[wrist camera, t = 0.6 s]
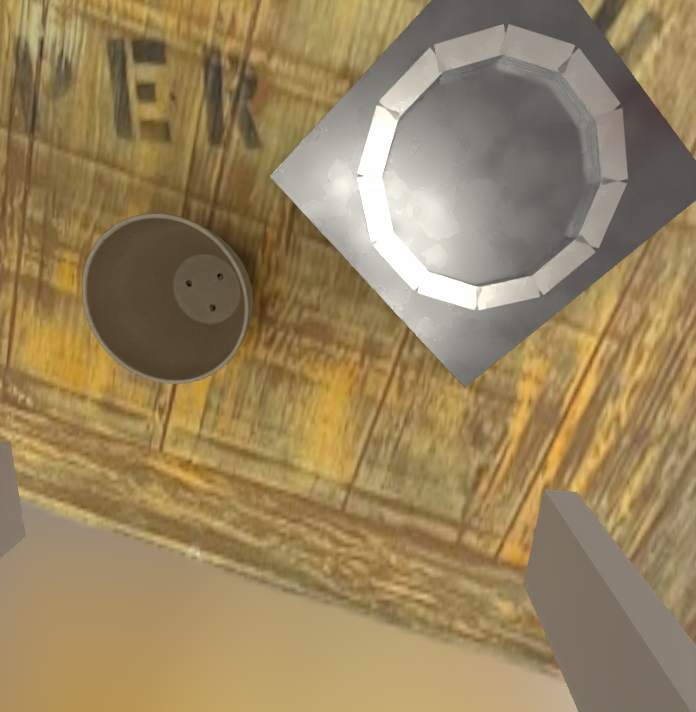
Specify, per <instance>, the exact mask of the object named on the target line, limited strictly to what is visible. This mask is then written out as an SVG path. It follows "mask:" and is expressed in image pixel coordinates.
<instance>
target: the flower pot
mask: <svg viewBox="0 0 696 712" xmlns="http://www.w3.org/2000/svg"><path fill="white" fill-rule="evenodd" d="M218 274H221V275H220V276H219V277H218ZM187 284H191V286H188V285H187ZM82 297H83V304H84V309H85V313H86V316H87V319H88V322H89V324H90V327H91V329H92V331H93V333H94V335H95V336H96V338H97V340H98V341H99V343H100V344H101V345H102V347H103V348H104V349H105V350H106V351H107V352H108V354H109V355H110V356H111V357H112V358H114V359H115V360H116V361H117V362H118V363H119V364H121V365H122V366H123V367H125V368H126V369H128V370H129V371H131V372H133V373H135V374H136V375H138V376H141V377H143V378H146V379H149V380H152V381H156V382H161V383H168V384H181V383H189V382H194V381H198V380H201V379H203V378H206V377H208V376H210V375H212V374H213V373H215V372H217V371H218V370H219V369H221V368H222V367H223V366H224V365H225V364H226V363H227V362H228V361H229V360H230V359H231V358H232V357H233V356H234V354H235V353H236V351H237V350H238V349H239V347H240V345H241V344H242V342H243V340H244V338H245V336H246V333H247V331H248V328H249V325H250V321H251V317H252V311H253V292H252V286H251V282H250V279H249V276H248V273H247V271H246V269H245V267H244V265H243V263H242V261H241V260H240V258H239V257H238V256H237V254H236V253H235V252H234V251H233V249H232V248H231V247H230V246H229V245H228V244H227V243H226V242H225V241H224V240H222V239H221V238H220V237H219V236H217V235H216V234H215V233H213V232H212V231H210V230H208V229H207V228H205V227H203V226H201V225H199V224H197V223H195V222H193V221H190V220H188V219H185V218H181V217H178V216H174V215H169V214H159V213H154V214H143V215H137V216H134V217H131V218H128V219H125V220H123V221H121V222H119V223H117V224H116V225H114V226H113V227H111V228H110V229H109V230H107V231H106V232H105V233H104V234H103V235H102V236H101V237H100V238H99V240H98V241H97V242H96V244H95V245H94V247H93V248H92V250H91V252H90V254H89V256H88V258H87V261H86V264H85V267H84V272H83V278H82ZM214 306H215V308H216V309H214Z"/></svg>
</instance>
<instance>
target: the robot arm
mask: <svg viewBox="0 0 696 712" xmlns="http://www.w3.org/2000/svg"><path fill="white" fill-rule="evenodd" d="M24 537H25V531H24V524H23V518H22V511H21V505H20V499H19V493H18V487H17V480H16V474H15V468H14V462H13V456H12V449H11V443H9V442H0V558H1V557H3V556H4V555H5V554H6V553H7V552H8V551H9V550H11V549H12V548H13V547H14V546H15V545H16V544H17V543H19V542H20V541H21V540H22V539H23V538H24ZM524 585H525V588H526V590H527V592H528V595H529V597H530V599H531V602H532V604H533V607H534V609H535V611H536V614H537V616H538V618H539V621H540V623H541V625H542V628H543V630H544V632H545V635H546V637H547V639H548V642H549V644H550V646H551V649H552V651H553V653H554V656H555V658H556V660H557V663H558V665H559V667H560V670H561V672H562V674H563V677H564V679H565V681H566V684H567V686H568V688H569V691H570V693H571V695H572V698H573V700H574V702H575V705H576V707H577V709H578V711H579V712H696V645H695V644H694V642H693V641H692V640H691V638H690V637H689V636H688V635H687V633H686V632H685V631H684V629H683V628H682V627H681V626H680V624H679V623H678V622H677V620H676V619H675V618H674V617H673V615H672V614H671V613H670V611H669V610H668V609H667V608H666V606H665V605H664V604H663V603H662V601H661V600H660V599H659V597H658V596H657V595H656V594H655V592H654V591H653V590H652V588H651V587H650V586H649V585H648V583H647V582H646V581H645V579H644V578H643V577H642V576H641V574H640V573H639V572H638V570H637V569H636V568H635V567H634V565H633V564H632V563H631V561H630V560H629V559H628V558H627V556H626V555H625V554H624V552H623V551H622V550H621V549H620V547H619V546H618V545H617V543H616V542H615V541H614V540H613V538H612V537H611V536H610V534H609V533H608V532H607V531H606V529H605V528H604V527H603V525H602V524H601V523H600V522H599V520H598V519H597V518H596V516H595V515H594V514H593V513H592V511H591V510H590V509H589V508H588V506H587V505H586V504H585V502H584V501H583V500H582V499H581V497H580V496H579V495H578V493H577V492H570V491H559V490H547V489H544V491H543V496H542V501H541V505H540V510H539V515H538V519H537V524H536V528H535V533H534V538H533V542H532V547H531V552H530V556H529V561H528V566H527V570H526V575H525V579H524Z"/></svg>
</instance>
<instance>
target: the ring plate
mask: <svg viewBox="0 0 696 712" xmlns="http://www.w3.org/2000/svg"><path fill="white" fill-rule="evenodd" d="M270 177H271V178H272V179H273V181H274V182H275V183H276V184H277V185H278V186H279V187H280V188H281V189H282V190H283V191H284V193H285V194H286V195H287V196H288V197H289V198H290V199H291V200H292V201H293V202H294V203H295V204H296V206H297V207H298V208H299V209H300V210H301V211H302V212H303V213H304V214H305V215H306V216H307V217H308V219H309V220H310V221H311V222H312V223H313V224H314V225H315V226H316V227H317V228H318V229H319V230H320V232H321V233H322V234H323V235H324V236H325V237H326V238H327V239H328V240H329V241H330V242H331V243H332V245H333V246H334V247H335V248H336V249H337V250H338V251H339V252H340V253H341V254H342V255H343V256H344V258H345V259H346V260H347V261H348V262H349V263H350V264H351V265H352V266H353V267H354V268H355V269H356V271H357V272H358V273H359V274H360V275H361V276H362V277H363V278H364V279H365V280H366V281H367V282H368V284H369V285H370V286H371V287H372V288H373V289H374V290H375V291H376V292H377V293H378V294H379V295H380V297H381V298H382V299H383V300H384V301H385V302H386V303H387V304H388V305H389V306H390V307H391V308H392V310H393V311H394V312H395V313H396V314H397V315H398V316H399V317H400V318H401V319H402V320H403V321H404V323H405V324H406V325H407V326H408V327H409V328H410V329H411V330H412V331H413V332H414V333H415V334H416V336H417V337H418V338H419V339H420V340H421V341H422V342H423V343H424V344H425V345H426V346H427V347H428V349H429V350H430V351H431V352H432V353H433V354H434V355H435V356H436V357H437V358H438V359H439V360H440V362H441V363H442V364H443V365H444V366H445V367H446V368H447V369H448V370H449V371H450V372H451V374H452V375H453V376H454V377H455V378H456V379H457V380H458V381H459V382H460V383H461V384H462V385H463V387H464V388H465V387H466V386H467V385H469V384H470V383H471V382H472V381H474V380H475V379H476V378H477V377H479V376H480V375H481V374H482V373H483V372H485V371H486V370H487V369H488V368H490V367H491V366H492V365H493V364H495V363H496V362H497V361H498V360H499V359H501V358H502V357H503V356H504V355H506V354H507V353H508V352H509V351H511V350H512V349H513V348H514V347H515V346H517V345H518V344H519V343H520V342H522V341H523V340H524V339H525V338H527V337H528V336H529V335H530V334H532V333H533V332H534V331H535V330H536V329H538V328H539V327H540V326H541V325H543V324H544V323H545V322H546V321H548V320H549V319H550V318H551V317H552V316H554V315H555V314H556V313H557V312H559V311H560V310H561V309H562V308H564V307H565V306H566V305H567V304H568V303H570V302H571V301H572V300H573V299H575V298H576V297H577V296H578V295H580V294H581V293H582V292H583V291H585V290H586V289H587V288H588V287H589V286H591V285H592V284H593V283H594V282H596V281H597V280H598V279H599V278H601V277H602V276H603V275H604V274H605V273H607V272H608V271H609V270H610V269H612V268H613V267H614V266H615V265H617V264H618V263H619V262H620V261H621V260H623V259H624V258H625V257H626V256H628V255H629V254H630V253H631V252H633V251H634V250H635V249H636V248H637V247H639V246H640V245H641V244H642V243H644V242H645V241H646V240H647V239H649V238H650V237H651V236H652V235H654V234H655V233H656V232H657V231H658V230H660V229H661V228H662V227H663V226H665V225H666V224H667V223H668V222H670V221H671V220H672V219H673V218H674V217H676V216H677V215H678V214H679V213H681V212H682V211H683V210H684V209H686V208H687V207H688V206H689V205H690V204H692V203H693V202H694V201H695V200H696V160H695V159H694V158H693V156H692V155H691V154H690V152H689V151H688V150H687V148H686V147H685V145H684V144H683V143H682V141H681V140H680V139H679V137H678V136H677V135H676V133H675V132H674V131H673V129H672V128H671V126H670V125H669V124H668V122H667V121H666V120H665V118H664V117H663V116H662V114H661V113H660V112H659V110H658V109H657V107H656V106H655V105H654V103H653V102H652V101H651V99H650V98H649V97H648V95H647V94H646V92H645V91H644V90H643V88H642V87H641V86H640V84H639V83H638V82H637V80H636V79H635V78H634V76H633V75H632V73H631V72H630V71H629V69H628V68H627V67H626V65H625V64H624V63H623V61H622V60H621V59H620V57H619V56H618V54H617V53H616V52H615V50H614V49H613V48H612V46H611V45H610V44H609V42H608V41H607V39H606V38H605V37H604V35H603V34H602V33H601V31H600V30H599V29H598V27H597V26H596V25H595V23H594V22H593V20H592V19H591V18H590V16H589V15H588V14H587V12H586V11H585V10H584V8H583V7H582V5H581V4H580V3H579V1H578V0H432V1H431V2H430V3H429V4H428V5H427V6H426V7H425V8H424V9H423V10H422V11H421V13H420V14H419V15H418V16H417V17H416V18H415V19H414V20H413V21H412V22H411V23H410V25H409V26H408V27H407V28H406V29H405V30H404V31H403V32H402V33H401V34H400V35H399V36H398V38H397V39H396V40H395V41H394V42H393V43H392V44H391V45H390V46H389V47H388V48H387V49H386V51H385V52H384V53H383V54H382V55H381V56H380V57H379V58H378V59H377V60H376V61H375V62H374V64H373V65H372V66H371V67H370V68H369V69H368V70H367V71H366V72H365V73H364V74H363V76H362V77H361V78H360V79H359V80H358V81H357V82H356V83H355V84H354V85H353V86H352V87H351V89H350V90H349V91H348V92H347V93H346V94H345V95H344V96H343V97H342V98H341V99H340V100H339V102H338V103H337V104H336V105H335V106H334V107H333V108H332V109H331V110H330V111H329V112H328V114H327V115H326V116H325V117H324V118H323V119H322V120H321V121H320V122H319V123H318V124H317V125H316V127H315V128H314V129H313V130H312V131H311V132H310V133H309V134H308V135H307V136H306V137H305V138H304V140H303V141H302V142H301V143H300V144H299V145H298V146H297V147H296V148H295V149H294V150H293V152H292V153H291V154H290V155H289V156H288V157H287V158H286V159H285V160H284V161H283V162H282V163H281V165H280V166H279V167H278V168H277V169H276V170H275V171H274V172H273V173H272V174H271V175H270Z"/></svg>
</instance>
